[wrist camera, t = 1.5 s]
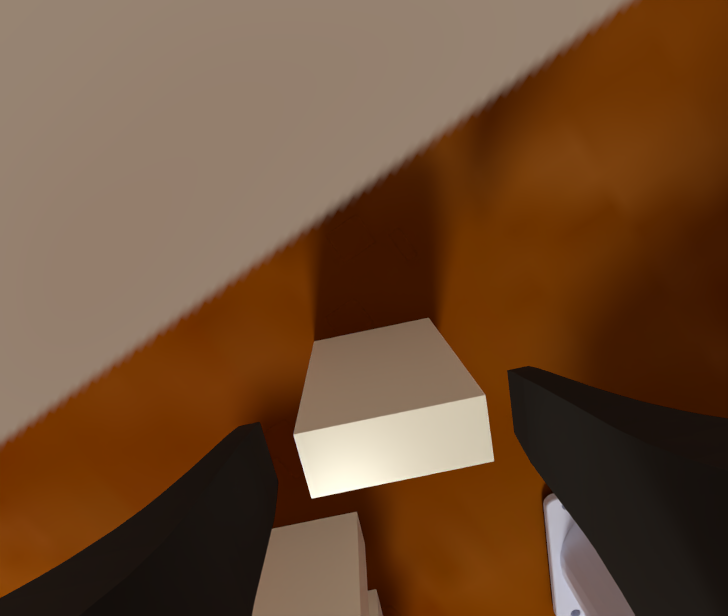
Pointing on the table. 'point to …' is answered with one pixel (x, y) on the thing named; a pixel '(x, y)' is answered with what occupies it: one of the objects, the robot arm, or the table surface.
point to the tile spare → (388, 410)
